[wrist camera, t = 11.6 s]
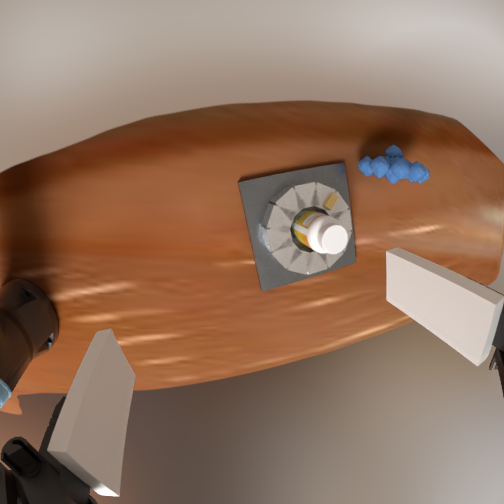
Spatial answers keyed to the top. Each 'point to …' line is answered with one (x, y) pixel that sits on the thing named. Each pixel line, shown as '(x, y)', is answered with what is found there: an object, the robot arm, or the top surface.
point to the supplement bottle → (319, 232)
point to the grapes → (394, 167)
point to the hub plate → (281, 217)
